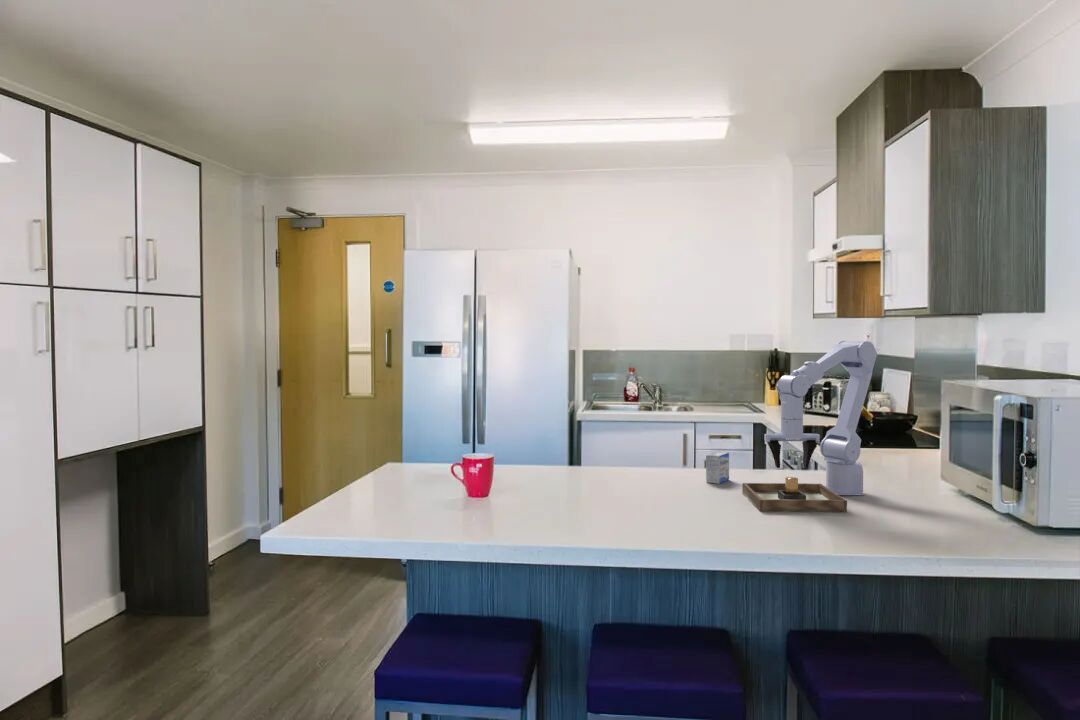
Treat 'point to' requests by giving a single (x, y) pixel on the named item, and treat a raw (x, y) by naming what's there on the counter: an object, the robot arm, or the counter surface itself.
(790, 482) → the bronze metal cylinder
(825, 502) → the walled box
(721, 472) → the medicine box
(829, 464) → the robot arm
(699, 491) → the counter surface
